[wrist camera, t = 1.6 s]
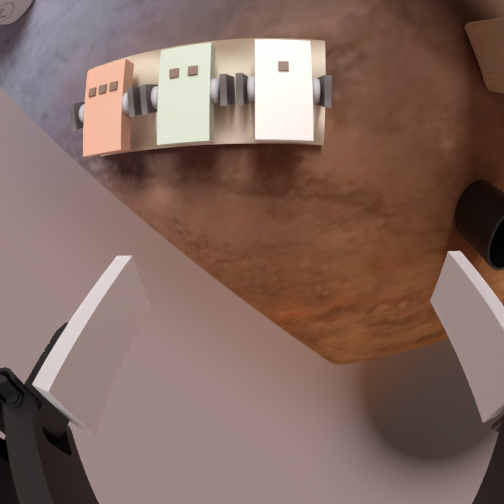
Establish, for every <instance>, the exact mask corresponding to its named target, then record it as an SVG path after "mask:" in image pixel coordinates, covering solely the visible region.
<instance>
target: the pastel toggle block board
mask: <svg viewBox="0 0 504 504" xmlns="http://www.w3.org/2000/svg"><path fill="white" fill-rule="evenodd" d="M255 39H283V40H304V41H310V46H311V63H312V78H316V79H319V81H320V100H319V103H313V138H314V141H313V142H311V143H305V142H269V141H256V140H255V101H248V92H247V80H248V77H255ZM210 42H211V43H212V45H213V46H214V48H215V50H216V52H215V79H218V78H219V81H220V102H219V103H214V143H197V144H183V145H172V146H160V145H157V109H155V108H154V107H153V105H152V102H151V91H152V89H153V87H156V86H158V84H159V69H160V56H161V50H165V49H170V48H175V47H181V46H187V45H194V44H202V43H210ZM123 59H127V60H128V61H130V62H132V63H133V64H134V72H133V84H132V87H131V88H127V95H128V107H129V117H131V129H130V150H129V151H122V152H115V153H109V154H103V155H100V156H107V155H113V154H120V153H127V152H134V151H142V150H150V149H159V148H169V147H181V146H194V145H212V144H242V143H277V144H307V145H324V127H325V107H330V108H331V98H332V76H331V75H325V41H320V40H308V39H290V38H248V39H230V40H218V41H208V42H200V43H193V44H186V45H180V46H174V47H169V48H164V49H159V50H154V51H150V52H145V53H141V54H137V55H133V56H130V57H126V58H123ZM123 59H119V60H116V61H120V60H123ZM116 61H112V62H109V63H106V64H110V63H113V62H116ZM106 64H103V65H106ZM103 65H100V66H103ZM100 66H97V67H100ZM97 67H94V68H91V70H92V69H95V68H97ZM83 104H85V102H81V103H76V104H72V105H70V113H71V122H72V130H77V129H80V128H83V126H84V124H83V123H82V122H81V121H80V119H79V109H80V107H81V106H82V105H83Z"/></svg>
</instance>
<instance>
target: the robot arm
mask: <svg viewBox="0 0 504 504" xmlns="http://www.w3.org/2000/svg"><path fill="white" fill-rule="evenodd" d="M430 302H431V304H432V306H433V308H434V310H435V311H436V313H437V315H438V317H439V319H440V321H441V323H442V325H443V327H444V329H445V331H446V333H447V335H448V337H449V339H450V341H451V343H452V345H453V347H454V349H455V352H456V354H457V356H458V358H459V361H460V363H461V365H462V367H463V370H464V372H465V375H466V377H467V380H468V382H469V385H470V387H471V390H472V392H473V395H474V398H475V401H476V403H477V406H478V409H479V412H480V415H481V418H482V421H483V422H485V421H487V420H490V419H491V418H494V417H496V416H497V415H498V414H499V413H500V412H501V411H503V409H504V307H503V305H502V304H501V302H500V301H499V299H498V298H497V297H496V295H495V294H494V292H493V291H492V290H491V288H490V287H489V286H488V284H487V283H486V282H485V280H484V279H483V278H482V277H481V275H480V274H479V273H478V272H477V270H476V269H475V268H474V267H473V265H472V264H471V263H470V262H469V261H468V259H467V258H466V257H465V256H464V255H463V253H462V252H461V251H448V252H447V255H446V258H445V262H444V265H443V267H442V270H441V273H440V276H439V279H438V282H437V284H436V287H435V289H434V292H433V295H432V297H431V300H430ZM148 308H149V303H148V300H147V298H146V295H145V292H144V290H143V287H142V284H141V281H140V278H139V275H138V273H137V269H136V266H135V263H134V260H133V257H132V256H117V257H116V258H115V259H114V260H113V262H112V263H111V264H110V266H109V267H108V268H107V270H106V271H105V272H104V273H103V275H102V276H101V278H100V279H99V280H98V282H97V283H96V284H95V286H94V287H93V289H92V290H91V291H90V293H89V294H88V295H87V297H86V298H85V300H84V301H83V302H82V304H81V305H80V307H79V308H78V310H77V311H76V313H75V314H74V316H73V317H72V319H71V320H70V322H69V323H65V324H64V325H63V326H62V327H60V328H59V329H58V330H57V331H56V333H55V334H54V336H53V337H52V339H51V340H50V344H48V345H47V347H46V348H45V352H43V354H42V355H41V357H40V358H39V360H38V362H37V363H36V365H35V367H34V369H33V370H32V372H31V374H30V376H29V378H28V379H27V381H26V382H25V384H23V383H22V382H21V381H20V380H19V379H18V378H17V376H16V375H15V374H14V373H13V372H12V371H11V370H10V369H9V368H6V367H5V368H0V431H1V432H3V433H4V434H5V435H6V437H5V439H4V440H3V439H2V438H0V504H99V503H98V501H97V499H96V497H95V495H94V492H93V490H92V488H91V486H90V483H89V481H88V478H87V476H86V473H85V470H84V468H83V465H82V462H81V459H80V456H79V454H78V451H77V447H76V444H75V441H74V438H73V434H72V431H71V429H70V427H69V426H68V423H69V420H70V421H71V422H72V423H74V424H75V425H76V426H77V427H79V428H81V429H83V430H86V431H88V432H91V433H94V434H95V432H96V430H97V427H98V424H99V421H100V418H101V416H102V413H103V411H104V408H105V406H106V403H107V401H108V398H109V396H110V393H111V391H112V388H113V386H114V383H115V381H116V379H117V376H118V374H119V372H120V369H121V367H122V365H123V362H124V360H125V357H126V355H127V353H128V350H129V349H130V347H131V344H132V342H133V340H134V338H135V336H136V333H137V331H138V329H139V327H140V325H141V323H142V321H143V318H144V316H145V314H146V312H147V310H148ZM500 423H501V425H500V426H499V427H498V428H497V429H496V431H497V432H499V434H498V438H497V441H496V445H495V448H494V451H493V454H492V457H491V460H490V463H489V466H488V468H487V471H486V474H485V476H484V479H483V481H482V484H481V486H480V488H479V491H478V493H477V495H476V497H475V499H474V501H473V503H472V504H504V415H503V416H502V417H501V418H499V420H497V421H496V422H495V423H494V424H493V426H492V428H491V429H492V430H493V429H494V428H495V427H497V426H498V425H499V424H500Z"/></svg>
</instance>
